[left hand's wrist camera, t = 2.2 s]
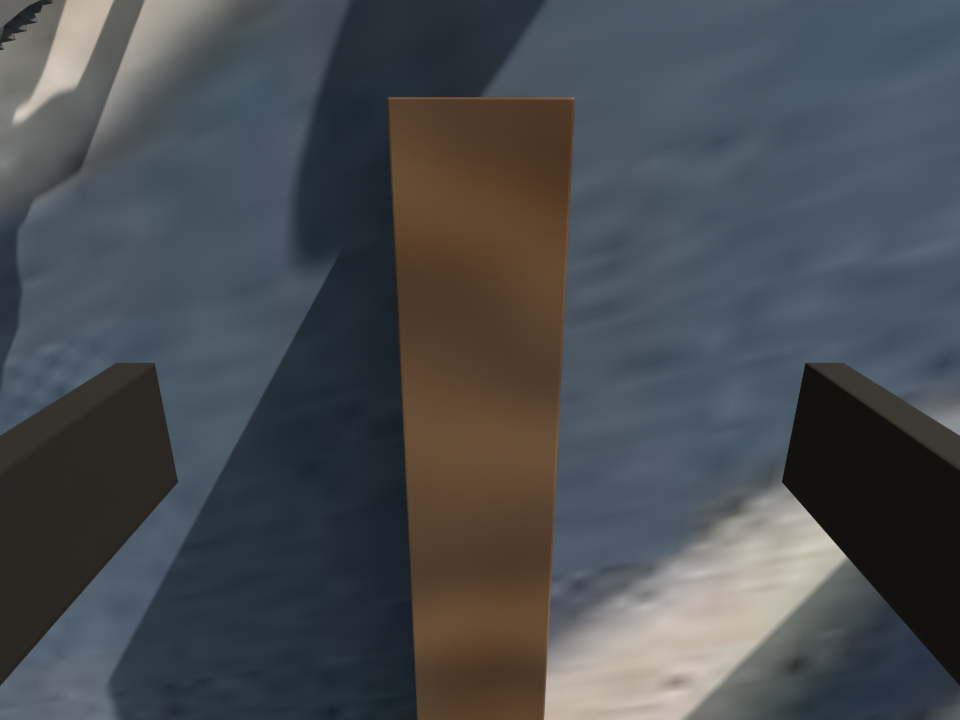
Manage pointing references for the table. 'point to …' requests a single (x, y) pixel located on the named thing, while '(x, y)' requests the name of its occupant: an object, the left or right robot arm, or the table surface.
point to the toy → (17, 16)
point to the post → (480, 388)
